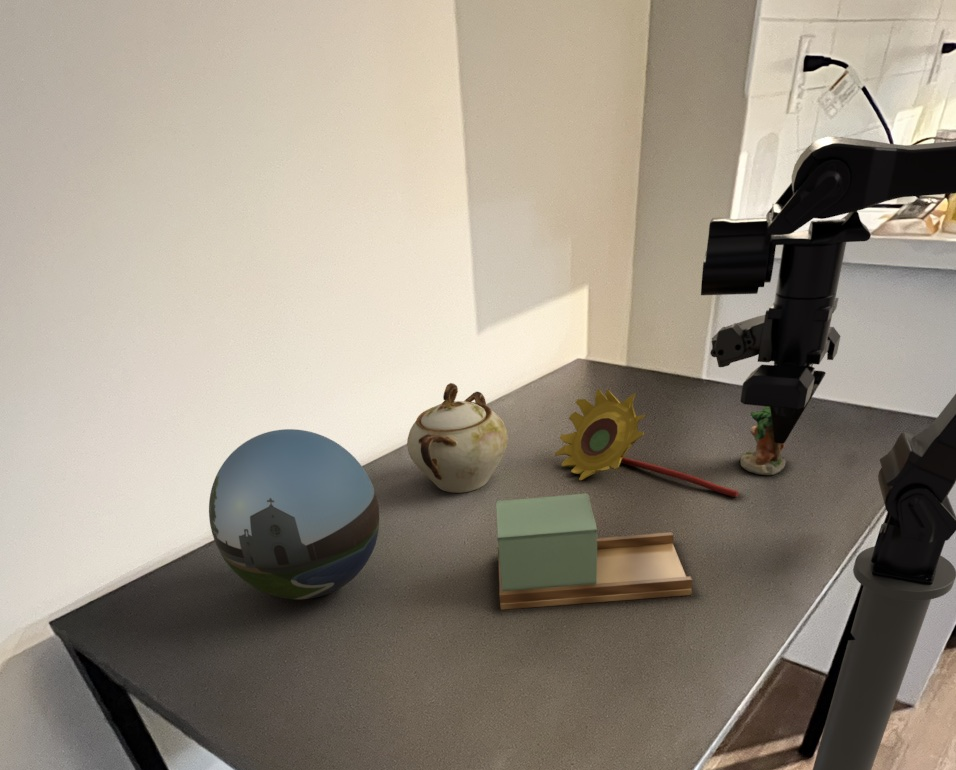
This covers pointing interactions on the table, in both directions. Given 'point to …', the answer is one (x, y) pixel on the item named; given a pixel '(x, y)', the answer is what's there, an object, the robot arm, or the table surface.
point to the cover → (546, 542)
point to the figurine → (764, 447)
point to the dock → (616, 575)
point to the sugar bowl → (458, 442)
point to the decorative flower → (612, 440)
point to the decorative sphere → (294, 514)
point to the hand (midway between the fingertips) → (779, 442)
